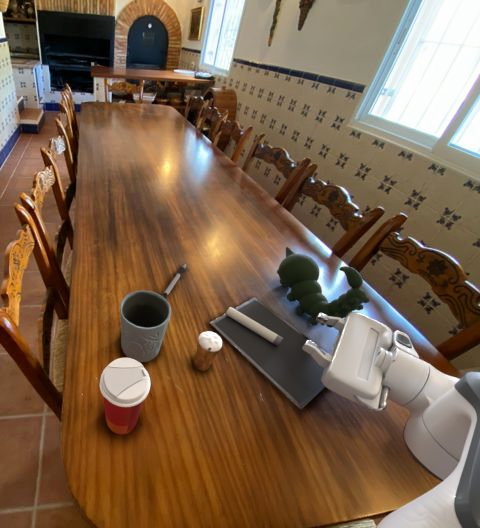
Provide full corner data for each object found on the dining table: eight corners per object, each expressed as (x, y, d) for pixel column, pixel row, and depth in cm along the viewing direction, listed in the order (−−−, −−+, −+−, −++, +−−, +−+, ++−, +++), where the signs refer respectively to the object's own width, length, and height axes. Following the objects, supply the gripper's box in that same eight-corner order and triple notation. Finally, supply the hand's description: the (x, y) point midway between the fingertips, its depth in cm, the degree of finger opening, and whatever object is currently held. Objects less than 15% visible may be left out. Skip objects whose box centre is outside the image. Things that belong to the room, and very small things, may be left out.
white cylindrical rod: (284, 336, 66) (231, 305, 72) (280, 342, 65) (226, 310, 71) (280, 341, 67) (229, 310, 74) (276, 348, 66) (224, 315, 72)
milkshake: (187, 372, 61) (198, 343, 55) (192, 351, 65) (202, 322, 59) (209, 380, 60) (223, 352, 54) (213, 359, 64) (226, 330, 57)
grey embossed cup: (128, 371, 60) (132, 335, 53) (110, 333, 67) (112, 296, 60) (171, 355, 64) (181, 319, 56) (150, 321, 71) (156, 284, 63)
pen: (160, 298, 77) (161, 295, 76) (183, 264, 88) (184, 261, 87) (165, 300, 76) (165, 297, 75) (187, 266, 88) (188, 263, 87)
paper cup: (134, 392, 57) (141, 349, 48) (148, 433, 52) (159, 394, 43) (94, 403, 55) (94, 361, 46) (105, 447, 49) (106, 409, 40)
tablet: (344, 368, 64) (346, 366, 63) (299, 411, 56) (301, 409, 56) (253, 298, 79) (254, 296, 78) (208, 324, 71) (209, 322, 71)
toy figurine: (339, 340, 72) (288, 267, 89) (394, 290, 59) (322, 215, 76) (304, 343, 71) (259, 268, 88) (353, 292, 57) (288, 216, 75)
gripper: (372, 425, 49) (288, 372, 55) (387, 348, 61) (317, 312, 68) (397, 408, 45) (302, 353, 51) (408, 329, 57) (330, 293, 64)
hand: (311, 329), depth 60 cm, fingers open, 8 cm apart
